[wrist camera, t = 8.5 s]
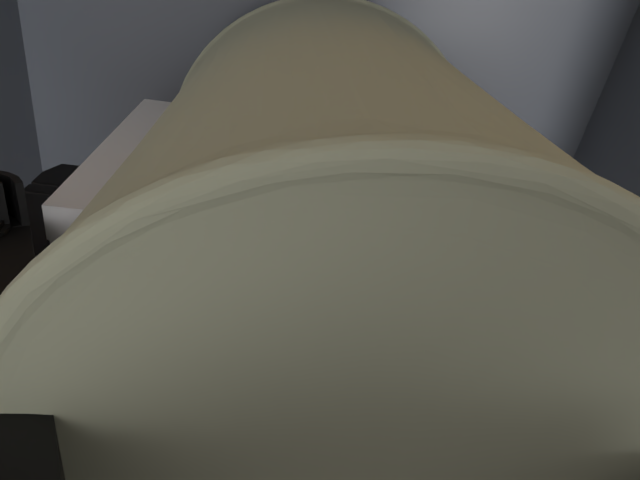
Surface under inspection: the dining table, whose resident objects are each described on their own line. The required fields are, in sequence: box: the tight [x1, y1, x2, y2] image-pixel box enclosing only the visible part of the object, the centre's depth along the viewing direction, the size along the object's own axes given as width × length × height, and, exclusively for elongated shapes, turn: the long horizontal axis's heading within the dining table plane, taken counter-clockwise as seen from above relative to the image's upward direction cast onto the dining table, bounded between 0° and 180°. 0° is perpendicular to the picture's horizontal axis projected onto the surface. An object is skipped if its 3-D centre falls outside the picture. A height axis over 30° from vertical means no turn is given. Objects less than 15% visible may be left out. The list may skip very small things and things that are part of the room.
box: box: [0, 0, 640, 197], centre depth 18 cm, size 24×18×7 cm
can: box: [0, 0, 640, 480], centre depth 11 cm, size 9×9×12 cm
